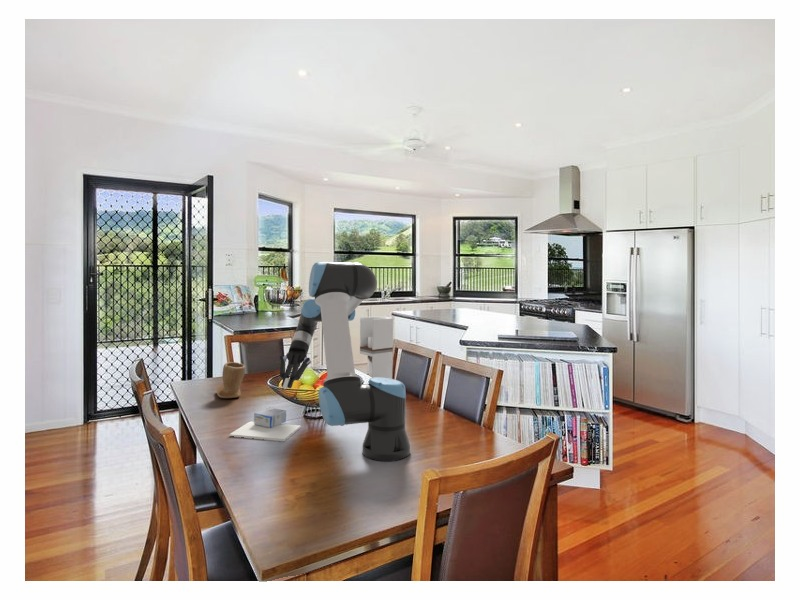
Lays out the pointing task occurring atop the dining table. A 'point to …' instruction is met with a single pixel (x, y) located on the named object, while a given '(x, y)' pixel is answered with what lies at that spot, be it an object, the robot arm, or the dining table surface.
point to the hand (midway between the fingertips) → (283, 394)
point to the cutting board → (266, 431)
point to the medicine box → (270, 417)
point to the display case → (377, 345)
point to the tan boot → (231, 380)
